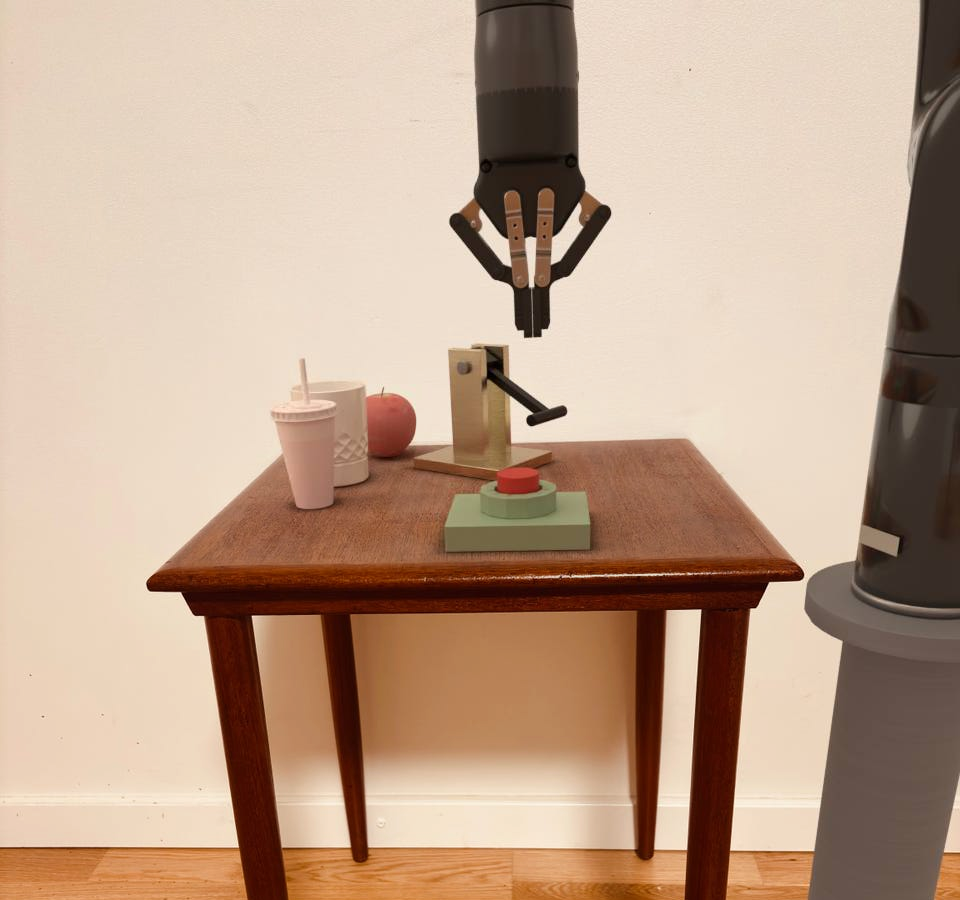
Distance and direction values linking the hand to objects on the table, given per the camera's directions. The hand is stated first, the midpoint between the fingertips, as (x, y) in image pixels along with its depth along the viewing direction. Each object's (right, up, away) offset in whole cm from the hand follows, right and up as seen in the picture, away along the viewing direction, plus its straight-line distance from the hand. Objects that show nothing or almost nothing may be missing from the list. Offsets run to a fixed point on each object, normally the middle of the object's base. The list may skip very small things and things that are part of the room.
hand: (533, 336), depth 74 cm
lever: (-2, +1, +24) cm, 24 cm away
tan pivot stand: (-4, -5, +29) cm, 30 cm away
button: (-1, -12, +5) cm, 13 cm away
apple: (-15, -3, +36) cm, 39 cm away
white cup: (-20, -7, +26) cm, 34 cm away
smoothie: (-21, -11, +17) cm, 29 cm away
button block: (-1, -15, +6) cm, 16 cm away
